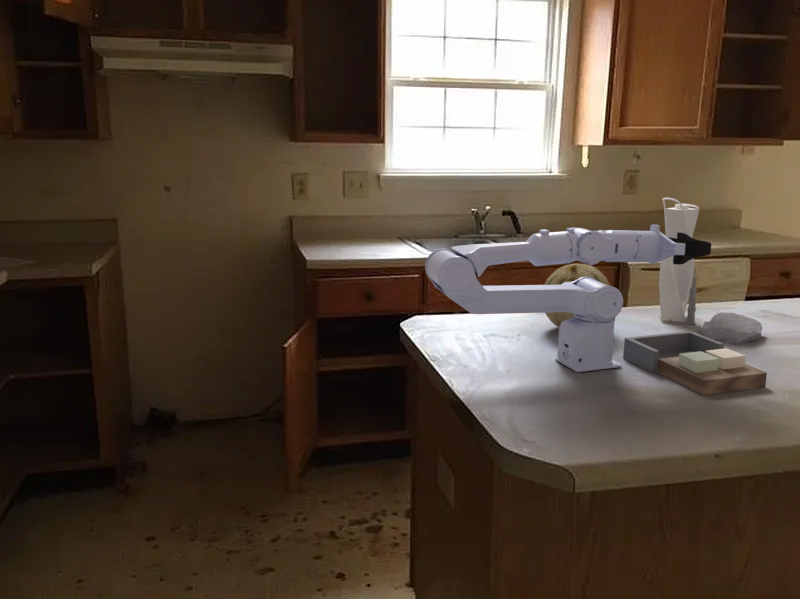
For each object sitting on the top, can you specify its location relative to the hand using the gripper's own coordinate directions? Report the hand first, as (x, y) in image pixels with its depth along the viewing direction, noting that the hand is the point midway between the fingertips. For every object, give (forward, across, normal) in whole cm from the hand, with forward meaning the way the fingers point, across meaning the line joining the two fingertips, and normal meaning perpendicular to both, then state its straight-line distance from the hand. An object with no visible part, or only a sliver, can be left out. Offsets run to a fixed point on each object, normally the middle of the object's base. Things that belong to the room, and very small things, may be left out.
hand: (696, 247), depth 133 cm
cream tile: (0, -11, +20) cm, 22 cm away
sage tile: (-6, -11, +20) cm, 24 cm away
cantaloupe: (-12, +24, +20) cm, 33 cm away
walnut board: (-3, -10, +22) cm, 25 cm away
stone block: (+18, +12, +20) cm, 29 cm away
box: (-3, -1, +21) cm, 22 cm away
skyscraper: (+14, +27, +18) cm, 36 cm away
